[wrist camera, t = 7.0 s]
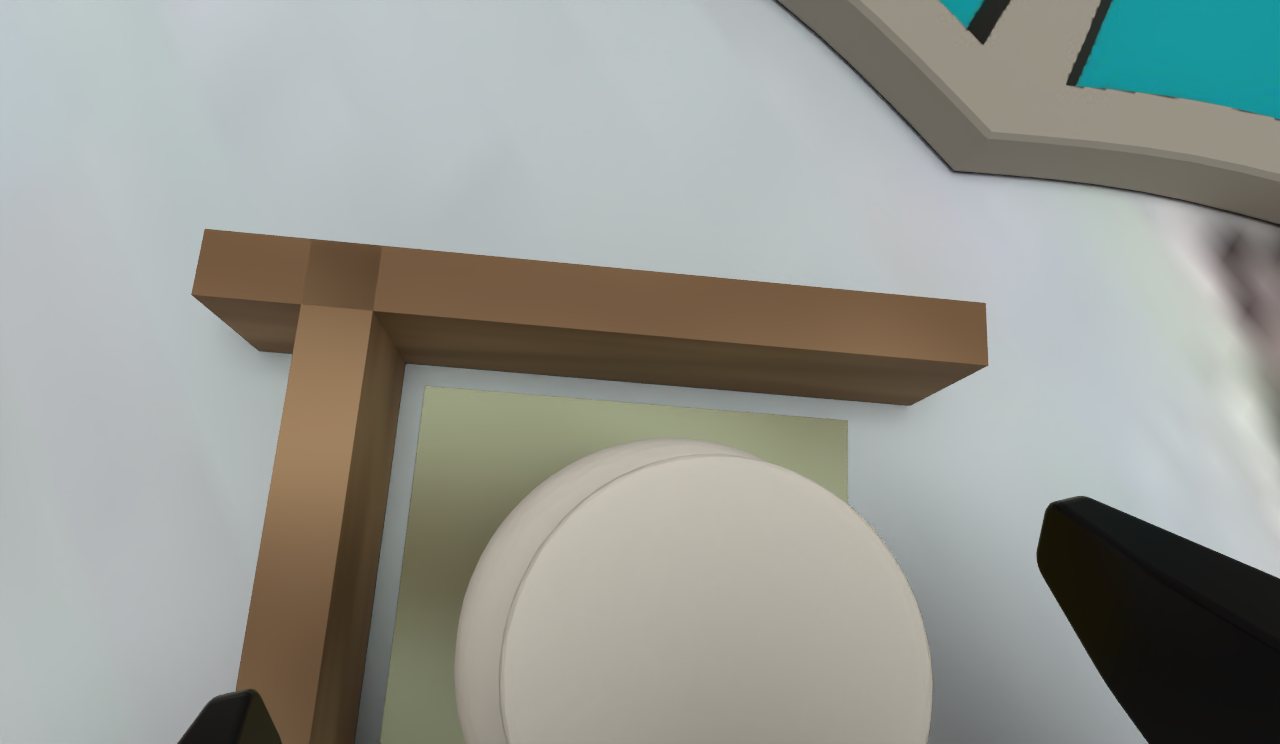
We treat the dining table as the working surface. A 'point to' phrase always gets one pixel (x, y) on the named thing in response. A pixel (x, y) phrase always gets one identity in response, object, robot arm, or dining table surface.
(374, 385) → the wooden corner bracket
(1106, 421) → the dining table surface
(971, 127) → the decorative platform
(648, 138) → the dining table surface
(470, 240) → the dining table surface
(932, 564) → the dining table surface
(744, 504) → the supplement bottle
